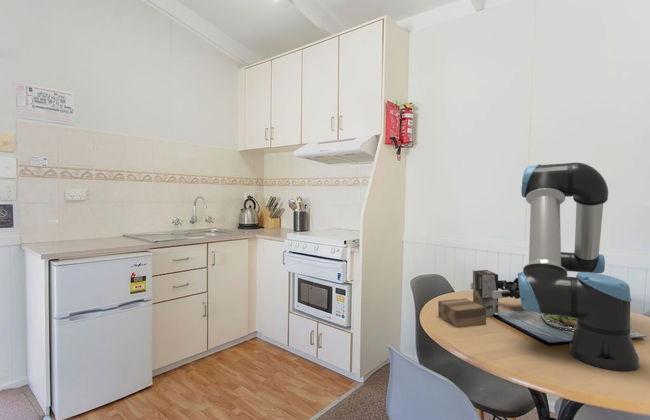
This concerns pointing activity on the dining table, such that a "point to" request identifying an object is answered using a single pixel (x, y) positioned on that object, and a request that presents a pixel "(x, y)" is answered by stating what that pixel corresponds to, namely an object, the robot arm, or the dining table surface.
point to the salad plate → (560, 321)
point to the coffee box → (485, 290)
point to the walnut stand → (462, 312)
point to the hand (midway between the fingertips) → (481, 290)
